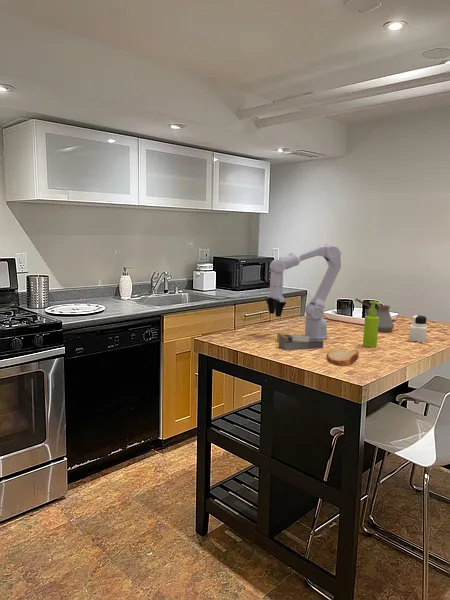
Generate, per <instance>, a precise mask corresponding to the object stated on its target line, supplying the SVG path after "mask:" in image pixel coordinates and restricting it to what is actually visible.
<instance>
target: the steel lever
mask: <svg viewBox="0 0 450 600" xmlns="http://www.w3.org/2000/svg"><path fill="white" fill-rule="evenodd" d="M288 338H289V339H288V340H289V341H303V342H309V337H308V336H301V335H297V334H296V335H295V334H294V335H293V334H290V335H288Z"/></svg>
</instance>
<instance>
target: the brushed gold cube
mask: <svg viewBox="0 0 450 600" xmlns="http://www.w3.org/2000/svg"><path fill="white" fill-rule="evenodd" d="M276 335H277V336H276V342H277V343H279V340H280V336H283V335H285V336H287V337H288V335H291V334H290V333H288V332H286V331H285V332H277V334H276Z"/></svg>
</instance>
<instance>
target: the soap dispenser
mask: <svg viewBox="0 0 450 600" xmlns="http://www.w3.org/2000/svg"><path fill="white" fill-rule="evenodd" d="M369 303H370V306H371V308H368V314H367V315H365V316H364V325H363V326H364V327H363V336H362V337H363V339H362V346H363V347H365V346H366V347H365V348H370V347H375V348H377V347H376V346H377V345H378V337H379V336H378V335H379V334H378V333H379V332H378V325H379V317H377V316H376V313H377V310H378V309H377V308H376V305H382V303H381V302H379V301H373V300H371V301H369Z"/></svg>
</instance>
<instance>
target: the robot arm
mask: <svg viewBox="0 0 450 600" xmlns="http://www.w3.org/2000/svg"><path fill="white" fill-rule="evenodd" d="M341 255H342V252H341V249H340V248H339V247H338V245H335V244H328V243H327V244H326V243H325V244H323V245H318V246H316V247H313V248H310V249H308V250H306V251H304V252H301V253H299V254H297V253H295V252H294V253H293V252H289V253H288V255H286V256H283V257H282V256H280V257H279V258H278V259H273V260H272V261H271V262H270V265H269V269H270V280H269V292H268V293H267V295H266V296H267V297H266V298H265V302H266V304H267V309H268V313H269V314H272V315H273V314H275V317H276V318H278V317H279V318H281V317H282V313H283V310H284V307H285V305H287V302H286V301H285V297H284V296H283V287H284V285H283V284H284V271H286V270H289V269H291V268H294V267H297V266H299V265H300V263H301V262H302V261H305V260H308V259H311V258H315V257H317V256H318V257H323V258H324V259H325V261H326V264H327V266H328V267H327V269H326V271H325V274H324V276H323V278H322V281H321V282H320V285H319V287H317V288H318V289H317V291H316V292H315V295H314V296H313V298H312V299H310V302H309V303H308V304H306V306H305V308H304V312H305V314H306V317H305V325H304V327H305V329H304V334H301V335H300V336H308V337H309V338H318V339H320V340H324V339H325V340H326V339H327V330H328V329H327V328H328V327H327V326H328V324H327V320H326V319H325V318H323V316H324V309H325V306H326V305H325V302H326V300H327V298H328V295H329V294H330V292H331V290H332V287H333V285H334V283H335V281H336V279H337V277H338V274H339V272H340V270H341V268H342V260H341Z"/></svg>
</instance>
